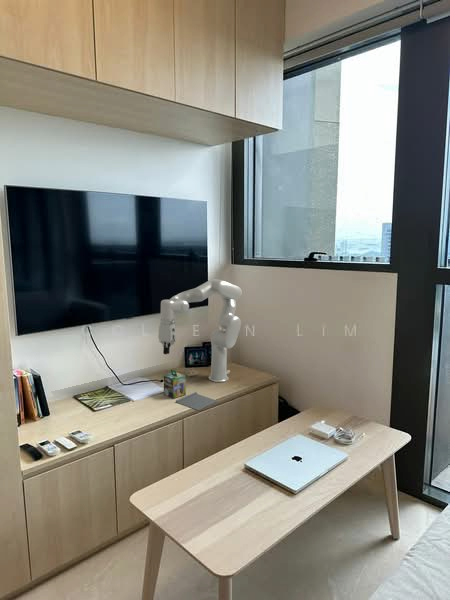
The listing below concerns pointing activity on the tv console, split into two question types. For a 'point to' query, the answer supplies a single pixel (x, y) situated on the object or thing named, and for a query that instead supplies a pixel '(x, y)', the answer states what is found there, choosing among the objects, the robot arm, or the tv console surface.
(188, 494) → the tv console surface
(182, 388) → the chalk box
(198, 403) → the mat
